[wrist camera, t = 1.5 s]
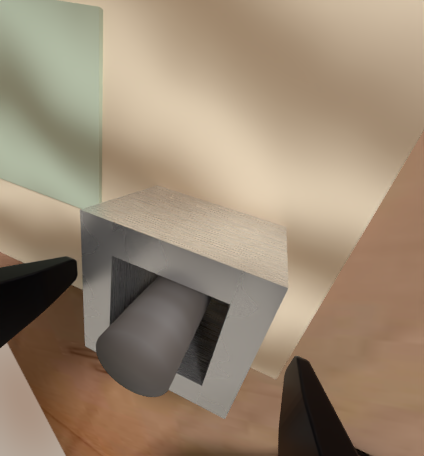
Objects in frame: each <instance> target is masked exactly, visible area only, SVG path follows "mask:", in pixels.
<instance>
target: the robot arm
mask: <svg viewBox="0 0 424 456" xmlns="http://www.w3.org/2000/svg"><path fill="white" fill-rule="evenodd" d="M77 276H78V271H77V261H76V260H75V259H73V258H71V257H68V256H64V257H58V258H53V259H47V260H41V261H35V262H30V263H24V264H18V265H12V266H7V267H1V268H0V348H1V347H2V346H3V345H4V344H6V343H7V342H8V341H9V340H10V339H12V338H13V337H14V336H15V335H16V334H18V333H19V332H20V331H21V330H22V329H24V328H25V327H26V326H27V325H28V324H30V323H31V322H32V321H33V320H34V319H36V318H37V317H38V316H39V315H40V314H41V313H43V312H44V311H45V310H46V309H47V308H48V307H49V306H50V305H51V304H52V303H53V302H54V301H55V300H56V299H57V298H58V297H59V296H60V295H61V294H62V293H63V292H64V291H65V290H66V289H67V288H68V287H69V286H70V285H71V284H72V283H73V282H74V281H75V280H76V279H77ZM278 456H367V455H365V454H363V453H361V452H359V451H357V450H355V448H354V446H353V444H352V442H351V440H350V438H349V437H348V435H347V433H346V431H345V429H344V427H343V425H342V423H341V421H340V419H339V418H338V416H337V414H336V412H335V410H334V408H333V406H332V404H331V402H330V401H329V399H328V397H327V395H326V393H325V391H324V389H323V387H322V385H321V383H320V382H319V380H318V378H317V376H316V374H315V372H314V370H313V368H312V366H311V364H310V363H309V362H308V361H307V360H306V359H303V358H301V357H299V356H295V357H294V358H293V359H292V361H291V363H290V364H289V366H288V368H287V369H286V372H285V376H284V384H283V393H282V403H281V412H280V421H279V438H278Z"/></svg>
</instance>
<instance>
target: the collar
mask: <svg viewBox="0 0 424 456" xmlns="http://www.w3.org/2000/svg"><path fill="white" fill-rule="evenodd" d="M80 226H81V252H82V278H83V305H84V331H85V346H86V347H88V348H90V349H91V350H93V351H95V352H96V342H97V339H98V338H99V336H100V335H101V334H102V333H103V332H104V331H105V330H106V329H107V328H108V327H109V326H110V325H111V324H112V323H113V322H114V321H115V320H116V319H117V318H118V317H119V316H120V315H121V314H122V313H123V311H124V310H125V309H126V308H127V307H128V306H129V305H130V304H131V303H132V302H133V301H134V300H135V299H136V298H137V297H138V296H139V295H140V294H141V293H142V292H143V291H144V290H145V289H146V288H147V287H148V286H149V285H150V284H151V283H152V281H153V280H154V279H155V278H156V277H157V276H158V275H160V276H162V277H165V278H167V279H170V280H172V281H174V282H177V283H179V284H182V285H184V286H187V287H189V288H191V289H194V290H196V291H199V292H201V293H204V294H206V295H208V296H211V297H212V299H211V301H210V303H209V305H208V307H207V309H206V311H205V313H204V316H203V318H202V320H201V322H200V324H199V326H198V328H197V330H196V333H195V335H194V337H193V339H192V341H191V343H190V345H189V347H188V350H187V352H186V354H185V356H184V358H183V360H182V362H181V364H180V367H179V369H178V371H177V373H176V375H175V377H174V379H173V381H172V384H171V386H170V388H169V390H170V391H172V392H174V393H176V394H178V395H180V396H182V397H183V398H185V399H187V400H189V401H191V402H193V403H195V404H197V405H199V406H201V407H203V408H204V409H206V410H208V411H210V412H212V413H214V414H216V415H218V416H220V417H222V418H224V419H225V418H226V416H227V414H228V412H229V410H230V408H231V405H232V403H233V401H234V399H235V397H236V395H237V393H238V391H239V389H240V387H241V385H242V383H243V381H244V379H245V377H246V375H247V373H248V371H249V368H250V366H251V364H252V362H253V360H254V358H255V356H256V354H257V352H258V350H259V348H260V346H261V344H262V342H263V340H264V338H265V336H266V333H267V331H268V329H269V327H270V325H271V323H272V321H273V319H274V317H275V315H276V313H277V311H278V309H279V307H280V305H281V303H282V301H283V298H284V296H285V294H286V292H287V290H288V288H289V287H288V259H287V232H286V227H285V226H282V225H279V224H276V223H273V222H270V221H266V220H263V219H260V218H257V217H254V216H251V215H248V214H245V213H242V212H239V211H236V210H232V209H229V208H226V207H223V206H220V205H217V204H214V203H211V202H208V201H205V200H202V199H198V198H195V197H192V196H189V195H186V194H183V193H180V192H177V191H174V190H171V189H168V188H164V187H161V186H158V185H157V186H154V187H150V188H147V189H144V190H141V191H138V192H134V193H131V194H128V195H125V196H122V197H118V198H115V199H112V200H109V201H105V202H102V203H99V204H96V205H93V206H89V207H86V208H83V209H80Z"/></svg>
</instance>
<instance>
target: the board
mask: <svg viewBox="0 0 424 456" xmlns="http://www.w3.org/2000/svg"><path fill="white" fill-rule="evenodd" d="M423 131H424V0H0V252H2V253H4V254H6V255H8V256H10V257H12V258H15V259H17V260H19V261H21V262H23V263H30V262H35V261H41V260H47V259H53V258H58V257H64V256H68V257H71V258H73V259H75V260H76V261H77V271H78V276H77V279H76V280H75V281H74V282H73V283H72V284H71V285H73V286H75V287H77V288H79V289H82V290H83V278H82V252H81V226H80V209H83V208H86V207H89V206H93V205H96V204H99V203H102V202H105V201H109V200H112V199H115V198H118V197H122V196H125V195H128V194H131V193H134V192H138V191H141V190H144V189H147V188H150V187H154V186H157V185H158V186H161V187H164V188H168V189H171V190H174V191H177V192H180V193H183V194H186V195H189V196H192V197H195V198H198V199H202V200H205V201H208V202H211V203H214V204H217V205H220V206H223V207H226V208H229V209H232V210H236V211H239V212H242V213H245V214H248V215H251V216H254V217H257V218H260V219H263V220H266V221H270V222H273V223H276V224H279V225H282V226H285V227H286V232H287V259H288V287H289V288H288V290H287V292H286V294H285V296H284V298H283V301H282V303H281V305H280V307H279V309H278V311H277V313H276V315H275V317H274V319H273V321H272V323H271V325H270V327H269V329H268V331H267V333H266V336H265V338H264V340H263V342H262V344H261V346H260V348H259V350H258V352H257V354H256V356H255V358H254V360H253V362H252V364H251V366H250V368H252V369H254V370H257V371H259V372H261V373H263V374H265V375H267V376H270V377H272V378H274V379H277V377H278V376H279V374H280V372H281V371H282V369H283V367H284V366H285V364H286V362H287V360H288V359H289V357H290V355H291V354H292V352H293V350H294V349H295V347H296V345H297V344H298V342H299V340H300V339H301V337H302V335H303V333H304V332H305V330H306V328H307V327H308V325H309V323H310V322H311V320H312V318H313V317H314V315H315V313H316V312H317V310H318V308H319V306H320V305H321V303H322V301H323V300H324V298H325V296H326V295H327V293H328V291H329V290H330V288H331V286H332V284H333V283H334V281H335V279H336V278H337V276H338V274H339V273H340V271H341V269H342V268H343V266H344V264H345V263H346V261H347V259H348V257H349V256H350V254H351V252H352V251H353V249H354V247H355V246H356V244H357V242H358V241H359V239H360V237H361V236H362V234H363V232H364V230H365V229H366V227H367V225H368V224H369V222H370V220H371V219H372V217H373V215H374V214H375V212H376V210H377V209H378V207H379V205H380V203H381V202H382V200H383V198H384V197H385V195H386V193H387V192H388V190H389V188H390V187H391V185H392V183H393V182H394V180H395V178H396V176H397V175H398V173H399V171H400V170H401V168H402V166H403V165H404V163H405V161H406V160H407V158H408V156H409V155H410V153H411V151H412V149H413V148H414V146H415V144H416V143H417V141H418V139H419V138H420V136H421V134H422V133H423ZM211 299H212V297H211V296H208V295H206V294H204V293H201V292H199V291H196V290H194V289H191V288H189V287H187V286H184V285H182V284H179V283H177V282H174V281H172V280H170V279H167V278H165V277H162V276H160V275H158V276H157V277H156V278H155V279H154V280H153V281H152V283H151V284H150V285H149V286H148V287H147V288H146V289H145V290H144V291H143V292H142V293H141V294H140V295H139V296H138V297H137V298H136V299H135V300H134V301H133V302H132V303H131V304H130V305H129V306H128V307H127V308H126V309H125V310H124V311H123V313H122V314H121V315H120V316H119V317H118V318H117V319H116V320H115V321H114V322H113V323H112V324H111V325H110V326H109V327H108V328H107V329H106V330H105V331H104V332H103V333H102V334H101V335H100V336H99V338H98V339H97V342H96V352H97V356H98V359H99V361H100V363H101V364H102V366H103V367H104V369H105V370H106V371H107V373H108V374H109V375H110V376H111V377H112V378H113V379H114V380H115V381H116V382H118V383H119V384H120V385H122V386H123V387H125V388H126V389H128V390H130V391H132V392H134V393H137V394H139V395H142V396H147V397H157V396H161V395H163V394H165V393H166V392H167V391H168V390H169V388H170V386H171V384H172V381H173V379H174V377H175V375H176V373H177V371H178V369H179V367H180V364H181V362H182V360H183V358H184V356H185V354H186V352H187V350H188V347H189V345H190V343H191V341H192V339H193V337H194V335H195V333H196V330H197V328H198V326H199V324H200V322H201V320H202V318H203V316H204V313H205V311H206V309H207V307H208V305H209V303H210V301H211Z"/></svg>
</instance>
